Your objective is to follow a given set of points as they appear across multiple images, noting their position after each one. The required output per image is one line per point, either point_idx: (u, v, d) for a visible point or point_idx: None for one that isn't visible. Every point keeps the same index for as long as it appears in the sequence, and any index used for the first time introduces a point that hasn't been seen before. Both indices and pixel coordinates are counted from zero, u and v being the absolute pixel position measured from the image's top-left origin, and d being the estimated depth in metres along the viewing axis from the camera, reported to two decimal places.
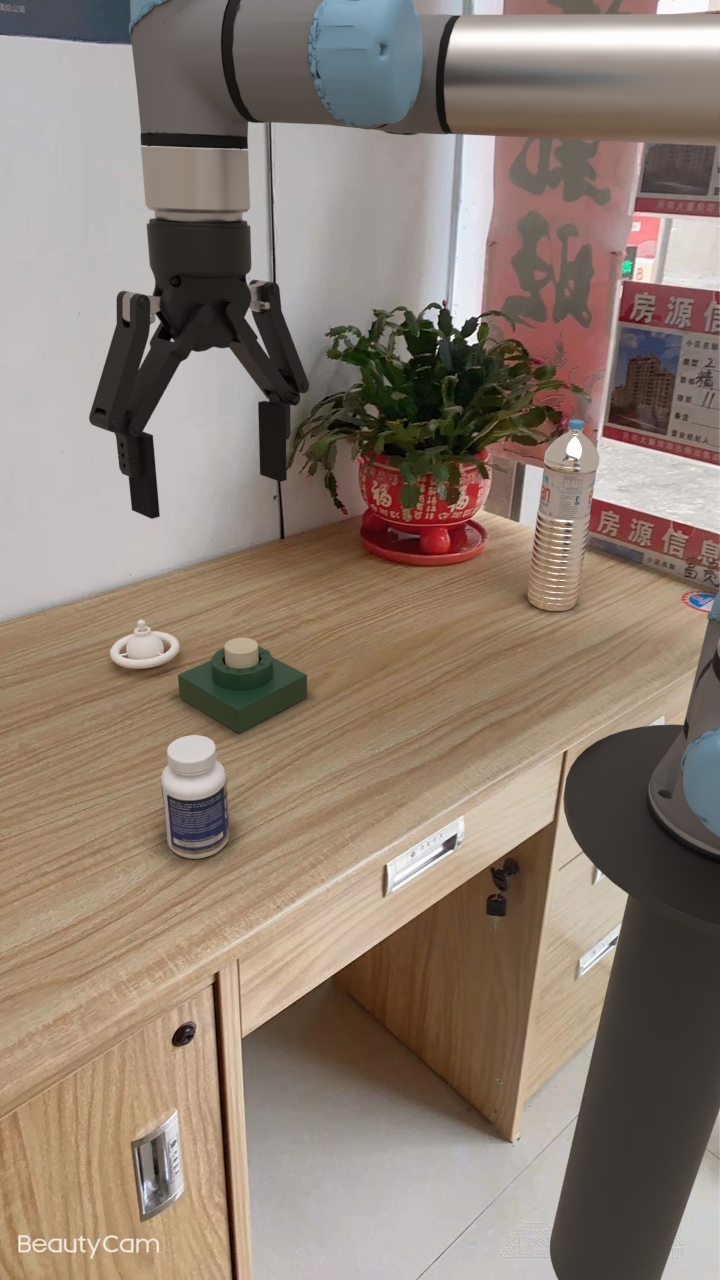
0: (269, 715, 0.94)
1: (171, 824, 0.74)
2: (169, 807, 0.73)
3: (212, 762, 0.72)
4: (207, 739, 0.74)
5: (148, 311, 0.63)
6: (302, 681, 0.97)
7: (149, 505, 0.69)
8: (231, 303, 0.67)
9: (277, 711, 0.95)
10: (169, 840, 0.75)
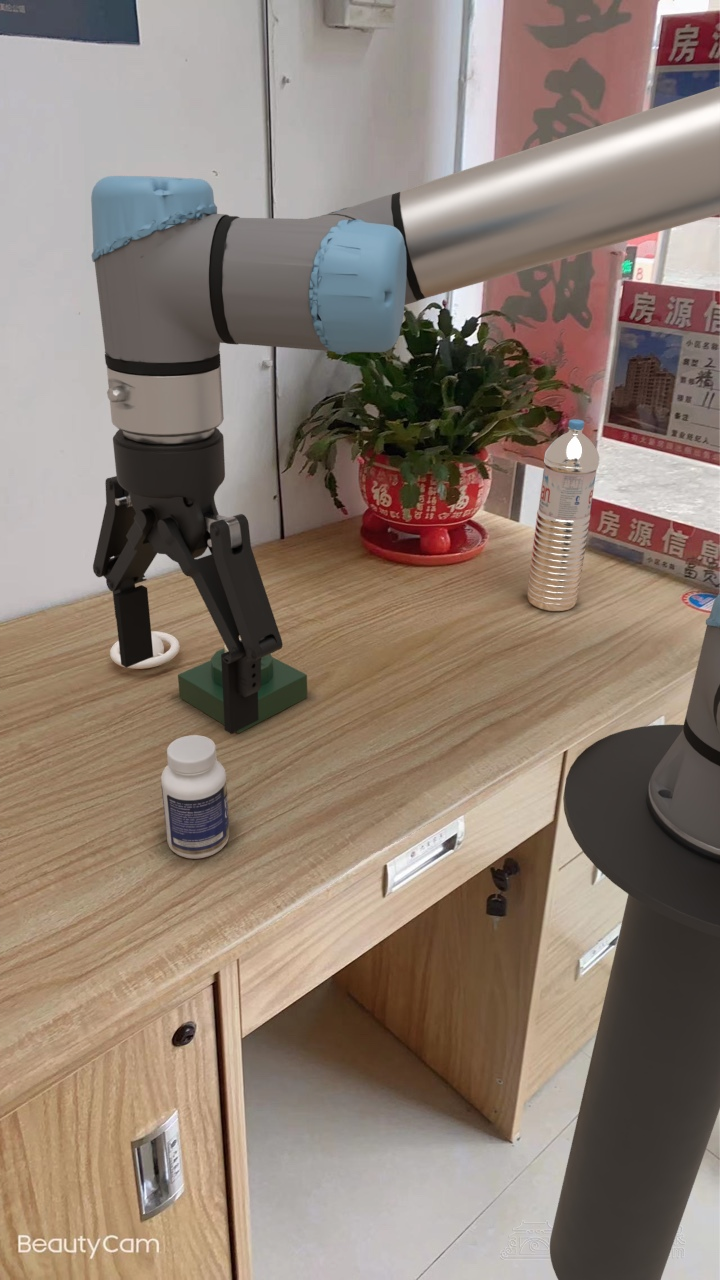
0: (269, 715, 0.94)
1: (171, 824, 0.74)
2: (169, 807, 0.73)
3: (212, 762, 0.72)
4: (207, 739, 0.74)
5: None
6: (302, 681, 0.97)
7: (257, 708, 0.67)
8: None
9: (277, 711, 0.95)
10: (169, 840, 0.75)
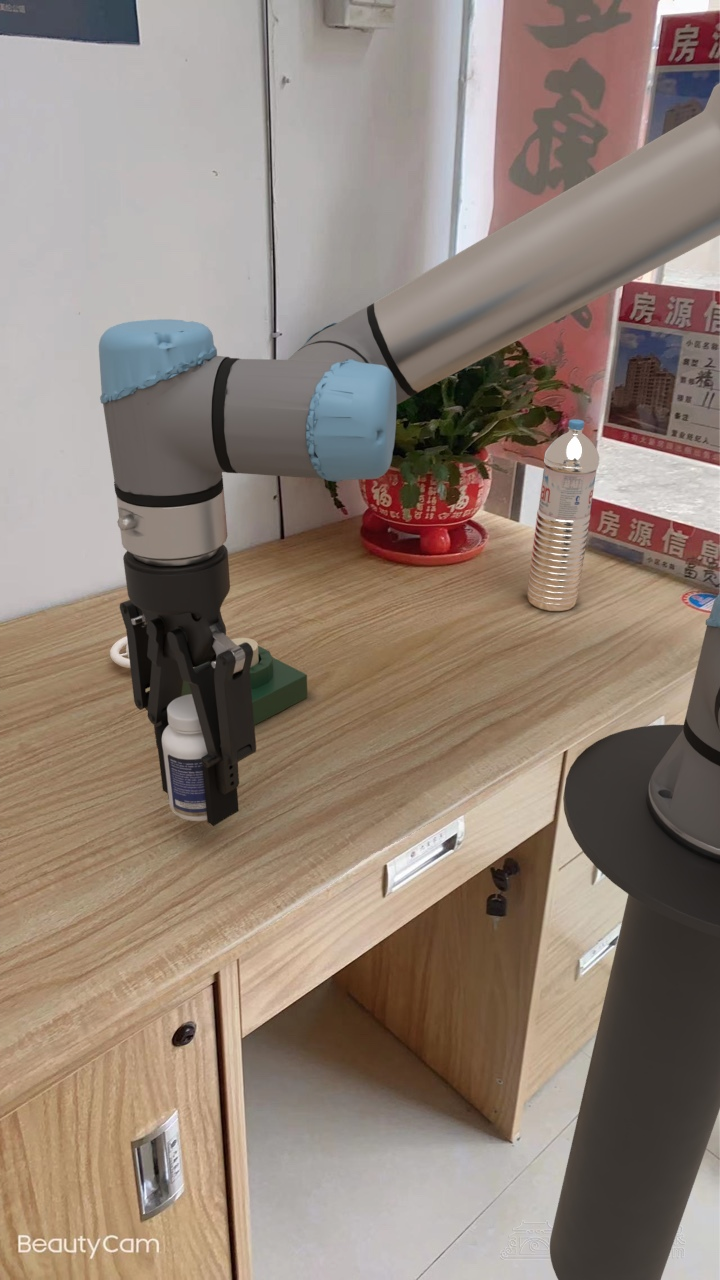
0: (269, 715, 0.94)
1: (173, 785, 0.72)
2: (170, 768, 0.71)
3: None
4: None
5: None
6: (302, 681, 0.97)
7: (236, 801, 0.73)
8: None
9: (277, 711, 0.95)
10: (171, 802, 0.73)
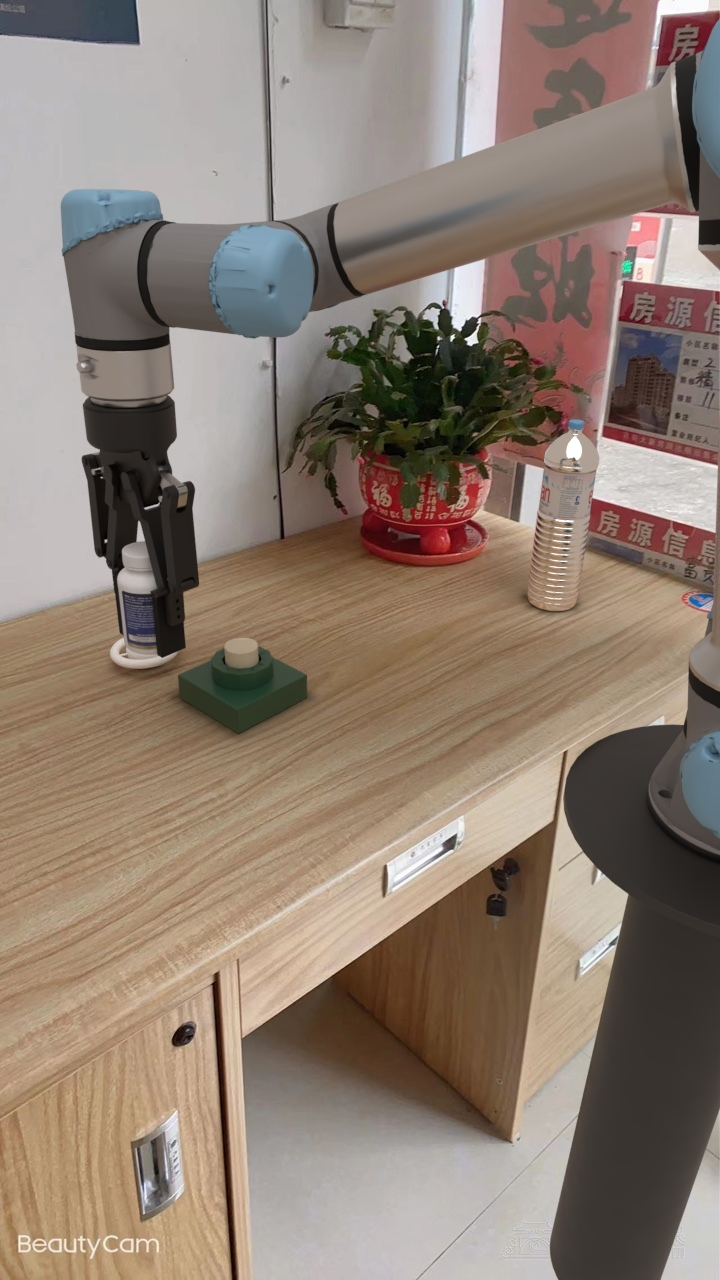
0: (269, 715, 0.94)
1: (127, 620, 0.81)
2: (124, 603, 0.81)
3: None
4: None
5: None
6: (302, 681, 0.97)
7: (183, 638, 0.83)
8: None
9: (277, 711, 0.95)
10: (125, 638, 0.83)
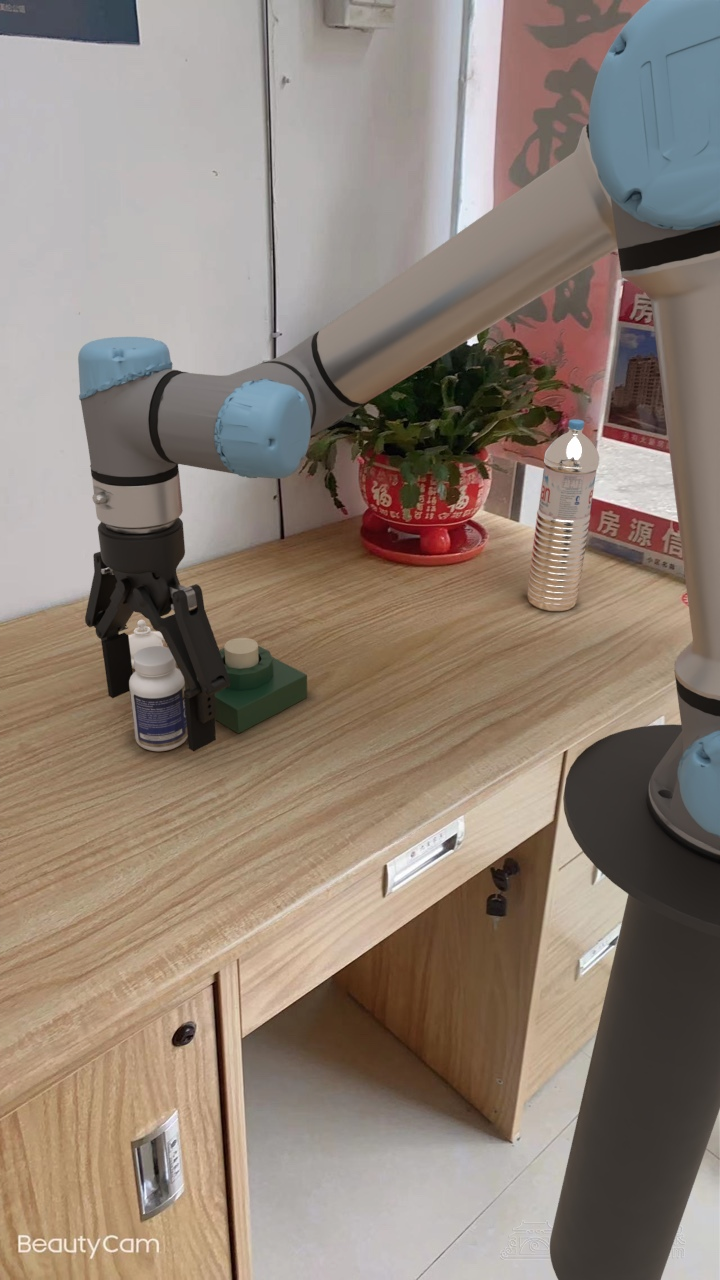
0: (269, 715, 0.94)
1: (138, 721, 0.87)
2: (135, 706, 0.87)
3: (172, 667, 0.86)
4: (168, 649, 0.87)
5: None
6: (302, 681, 0.97)
7: (214, 731, 0.85)
8: None
9: (277, 711, 0.95)
10: (136, 736, 0.89)
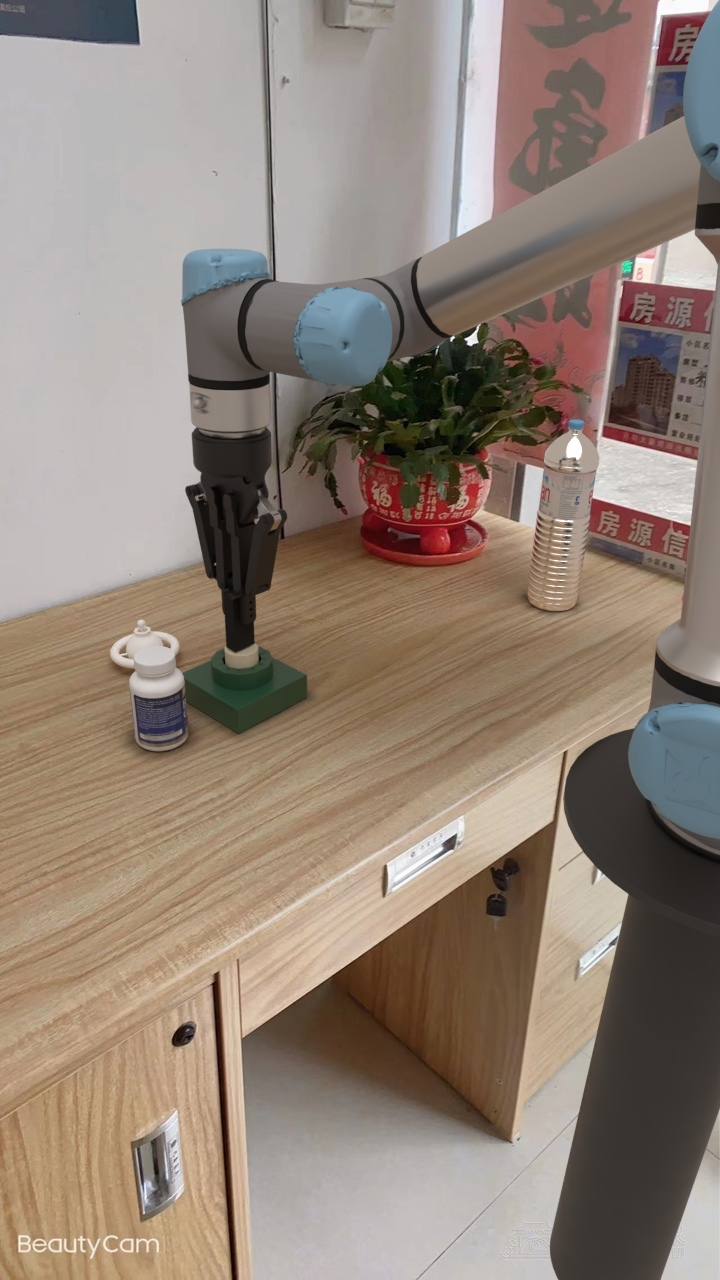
0: (269, 715, 0.94)
1: (138, 721, 0.87)
2: (135, 705, 0.87)
3: (172, 667, 0.86)
4: (168, 649, 0.87)
5: None
6: (302, 681, 0.97)
7: (253, 635, 0.95)
8: None
9: (277, 711, 0.95)
10: (136, 736, 0.89)
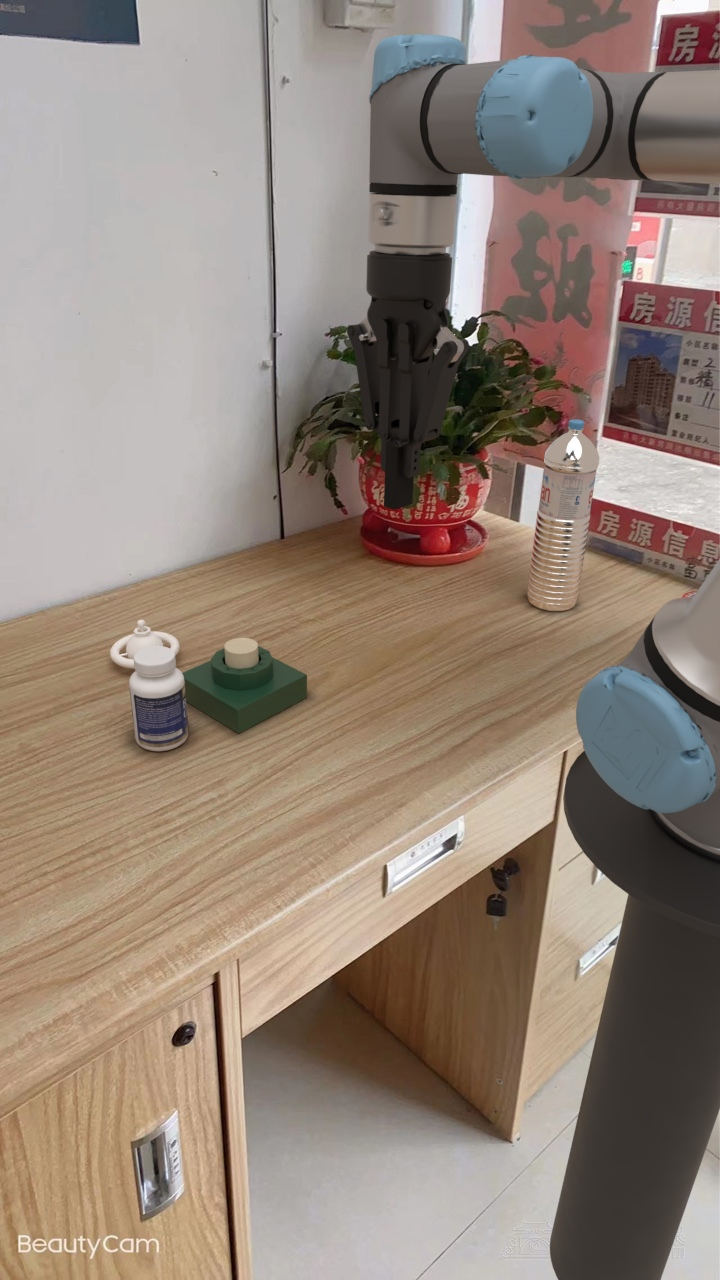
0: (269, 715, 0.94)
1: (138, 721, 0.87)
2: (135, 706, 0.87)
3: (172, 667, 0.86)
4: (168, 649, 0.87)
5: None
6: (302, 681, 0.97)
7: (412, 493, 0.88)
8: None
9: (277, 711, 0.95)
10: (136, 736, 0.89)
